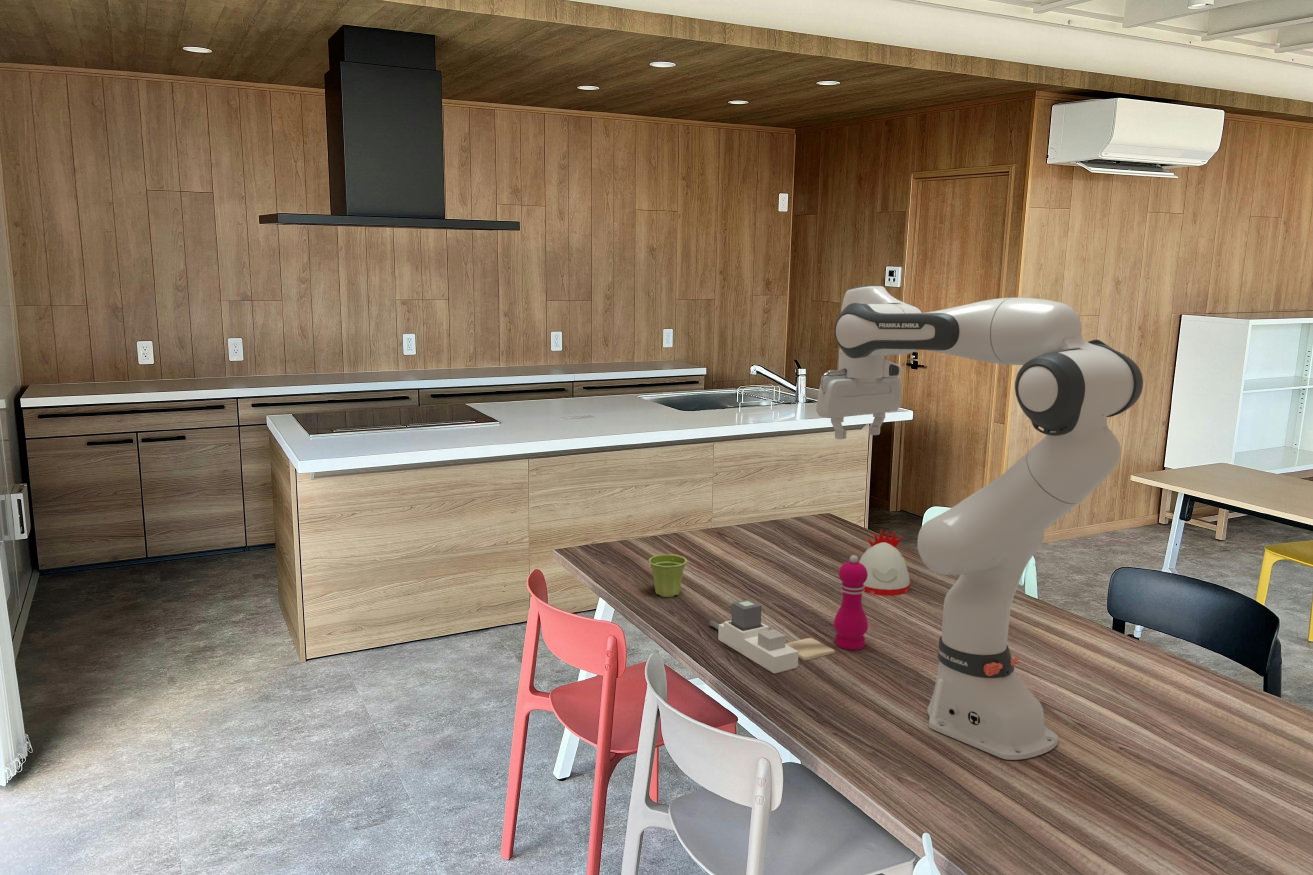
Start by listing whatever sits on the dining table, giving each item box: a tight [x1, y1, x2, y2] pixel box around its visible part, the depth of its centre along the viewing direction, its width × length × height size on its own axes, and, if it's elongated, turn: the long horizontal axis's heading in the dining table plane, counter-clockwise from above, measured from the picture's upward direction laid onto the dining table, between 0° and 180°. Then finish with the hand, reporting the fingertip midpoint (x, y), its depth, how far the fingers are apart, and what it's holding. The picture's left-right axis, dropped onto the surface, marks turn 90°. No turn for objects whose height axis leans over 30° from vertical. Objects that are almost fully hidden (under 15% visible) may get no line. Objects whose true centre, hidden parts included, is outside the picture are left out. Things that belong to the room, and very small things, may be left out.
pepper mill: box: [833, 554, 869, 651], centre depth 197 cm, size 7×7×20 cm
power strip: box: [709, 620, 799, 674], centre depth 196 cm, size 28×7×6 cm, turn 30°
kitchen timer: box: [858, 529, 911, 597], centre depth 235 cm, size 14×14×15 cm
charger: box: [730, 599, 762, 631], centre depth 196 cm, size 4×4×6 cm
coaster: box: [785, 637, 836, 661], centre depth 195 cm, size 8×8×1 cm
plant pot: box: [648, 554, 687, 598], centre depth 229 cm, size 9×9×9 cm
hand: (857, 436), depth 184 cm, fingers open, 8 cm apart
